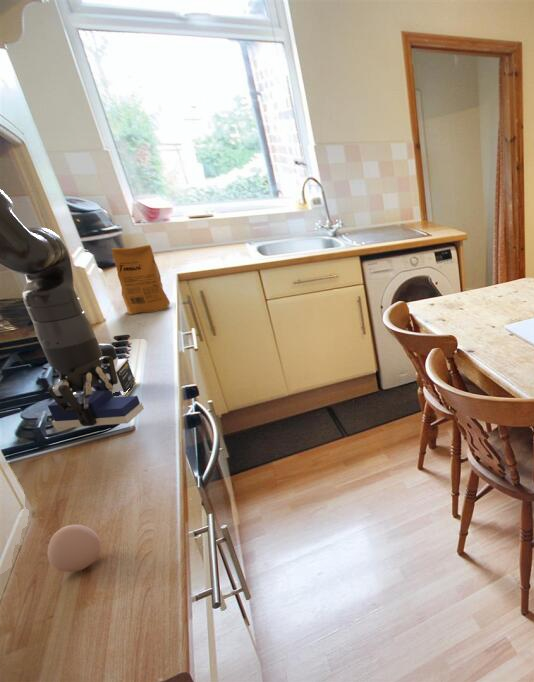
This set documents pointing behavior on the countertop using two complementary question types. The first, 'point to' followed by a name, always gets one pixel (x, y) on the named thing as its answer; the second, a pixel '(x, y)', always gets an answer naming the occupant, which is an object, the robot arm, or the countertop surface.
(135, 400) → the navy and white sponge
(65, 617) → the countertop surface
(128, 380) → the medicine bottle
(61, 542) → the egg
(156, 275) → the coffee package
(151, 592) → the countertop surface
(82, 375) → the robot arm
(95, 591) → the countertop surface
